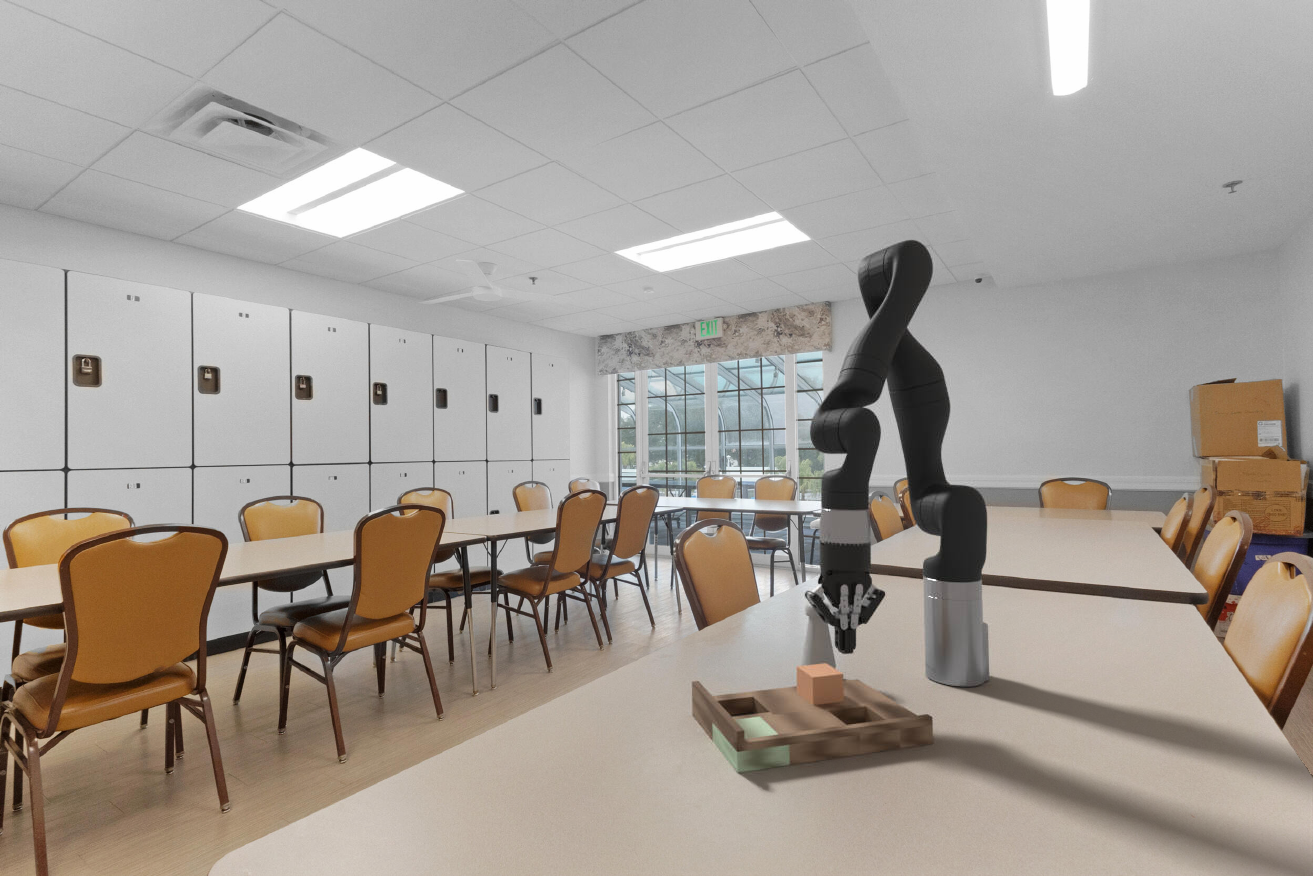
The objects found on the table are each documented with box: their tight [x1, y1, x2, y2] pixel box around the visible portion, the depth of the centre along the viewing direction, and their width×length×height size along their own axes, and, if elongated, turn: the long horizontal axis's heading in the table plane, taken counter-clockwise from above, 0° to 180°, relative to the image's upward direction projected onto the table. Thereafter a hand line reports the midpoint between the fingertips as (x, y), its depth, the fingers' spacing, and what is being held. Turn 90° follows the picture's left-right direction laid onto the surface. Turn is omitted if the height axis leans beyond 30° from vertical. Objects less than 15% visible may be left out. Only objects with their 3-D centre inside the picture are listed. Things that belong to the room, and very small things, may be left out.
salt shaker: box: [801, 601, 837, 669], centre depth 111 cm, size 6×6×13 cm
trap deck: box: [691, 678, 934, 773], centre depth 90 cm, size 28×18×5 cm, turn 105°
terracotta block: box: [796, 663, 844, 705], centre depth 96 cm, size 5×5×4 cm
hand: (845, 652), depth 97 cm, fingers closed
